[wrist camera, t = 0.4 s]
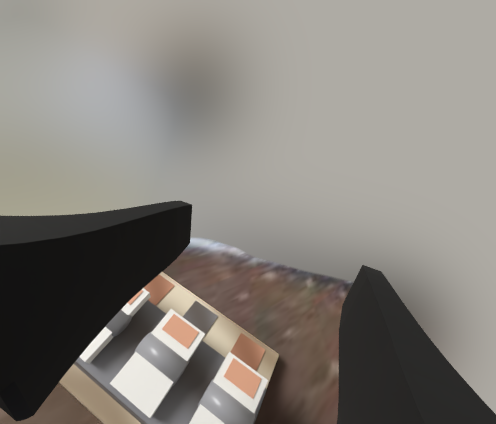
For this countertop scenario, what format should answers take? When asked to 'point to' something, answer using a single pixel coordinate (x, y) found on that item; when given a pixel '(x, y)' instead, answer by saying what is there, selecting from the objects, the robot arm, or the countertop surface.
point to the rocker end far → (115, 326)
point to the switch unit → (195, 374)
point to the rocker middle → (158, 362)
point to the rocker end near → (231, 395)
